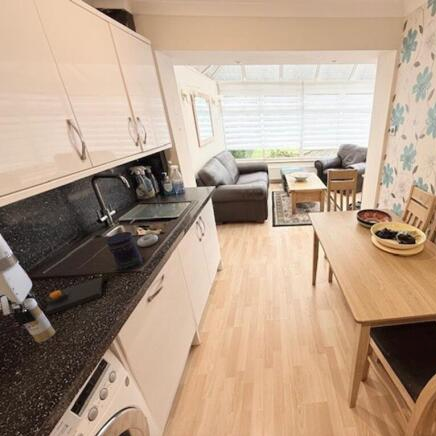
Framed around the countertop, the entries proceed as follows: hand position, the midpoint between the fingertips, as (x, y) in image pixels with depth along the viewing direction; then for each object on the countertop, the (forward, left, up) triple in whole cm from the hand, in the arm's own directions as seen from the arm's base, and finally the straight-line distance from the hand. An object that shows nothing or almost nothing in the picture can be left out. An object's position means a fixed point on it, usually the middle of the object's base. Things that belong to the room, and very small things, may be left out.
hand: (31, 315), depth 69 cm
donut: (+29, +54, -13) cm, 62 cm away
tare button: (-3, +24, -10) cm, 26 cm away
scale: (+3, +24, -13) cm, 27 cm away
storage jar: (+21, +36, -13) cm, 43 cm away
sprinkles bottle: (0, 0, -9) cm, 9 cm away
